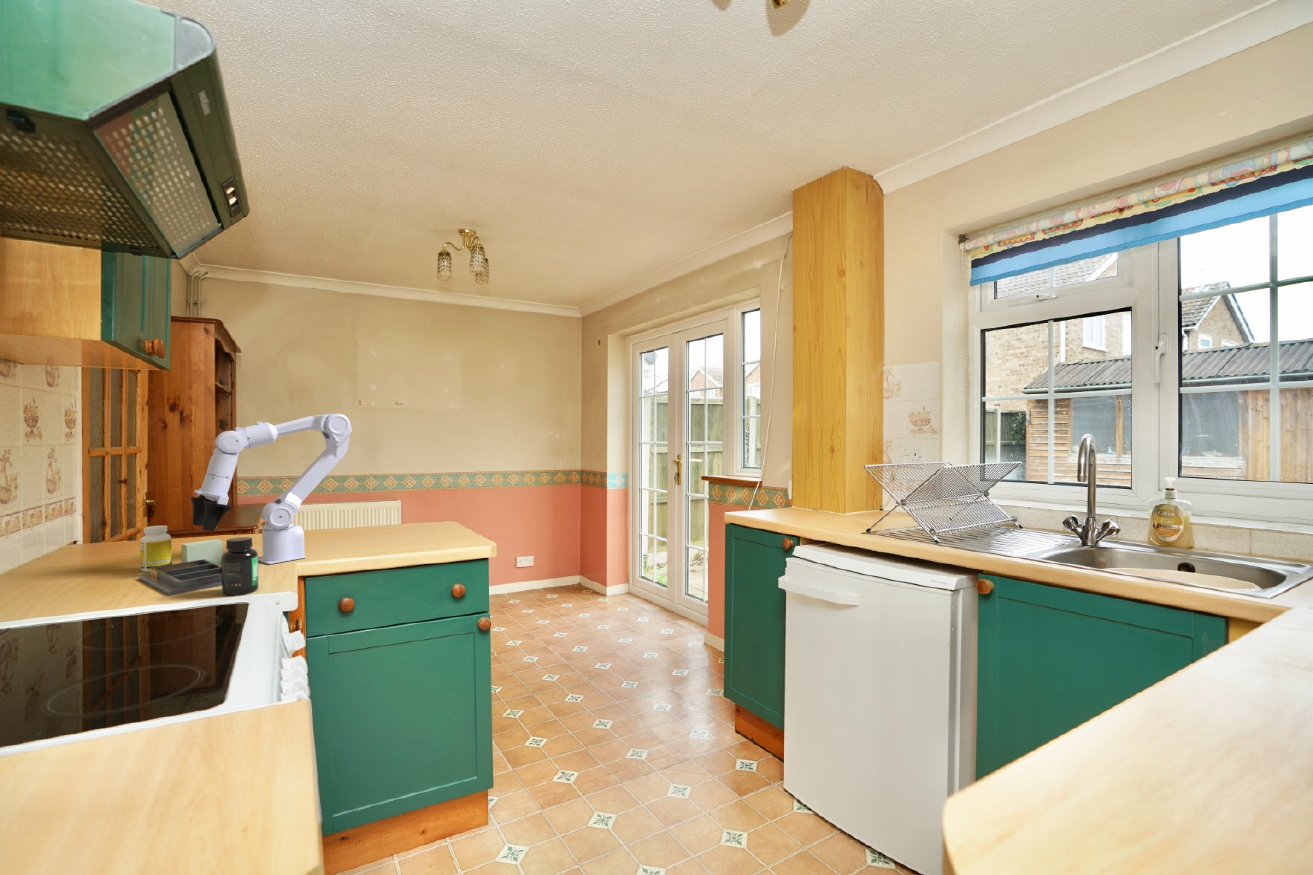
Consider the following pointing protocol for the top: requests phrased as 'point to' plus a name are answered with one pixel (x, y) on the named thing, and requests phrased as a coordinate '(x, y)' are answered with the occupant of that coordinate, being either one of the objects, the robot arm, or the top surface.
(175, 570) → the rack
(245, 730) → the top surface
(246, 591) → the supplement bottle
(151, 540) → the pill bottle
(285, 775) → the top surface
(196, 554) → the panel block
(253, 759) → the top surface
